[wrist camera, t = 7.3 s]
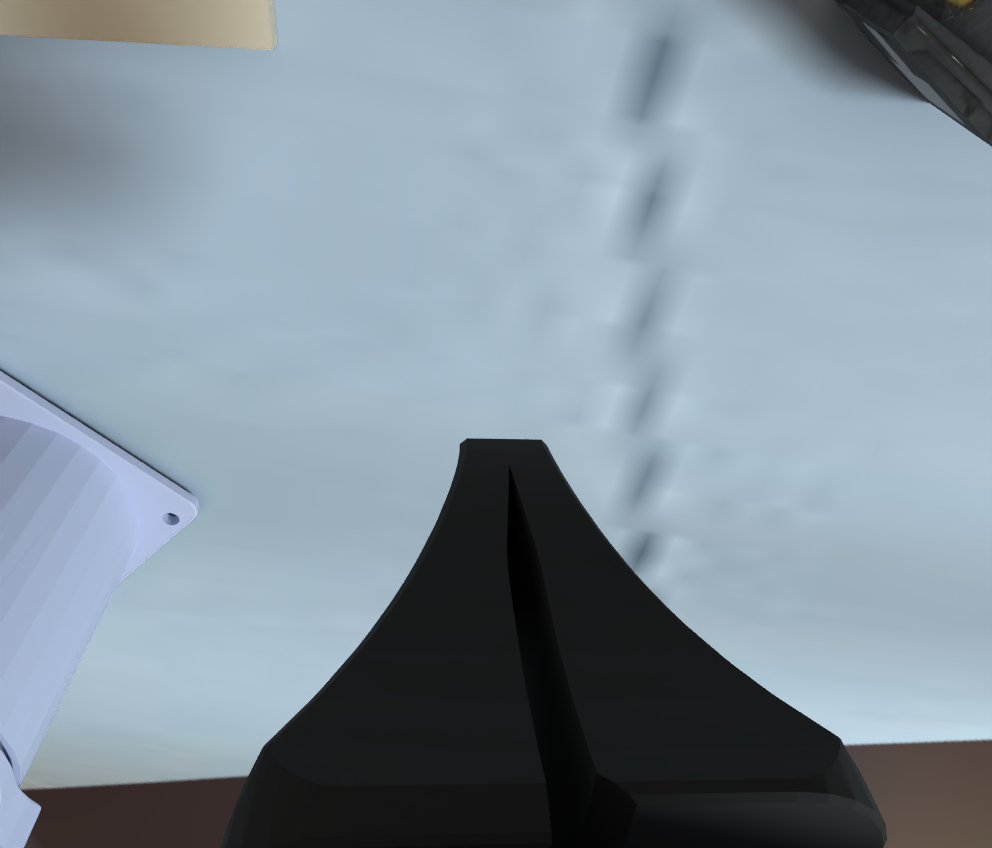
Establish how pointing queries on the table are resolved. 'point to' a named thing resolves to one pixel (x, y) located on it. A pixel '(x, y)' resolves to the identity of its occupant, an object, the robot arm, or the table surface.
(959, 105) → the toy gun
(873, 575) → the table surface
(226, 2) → the board
